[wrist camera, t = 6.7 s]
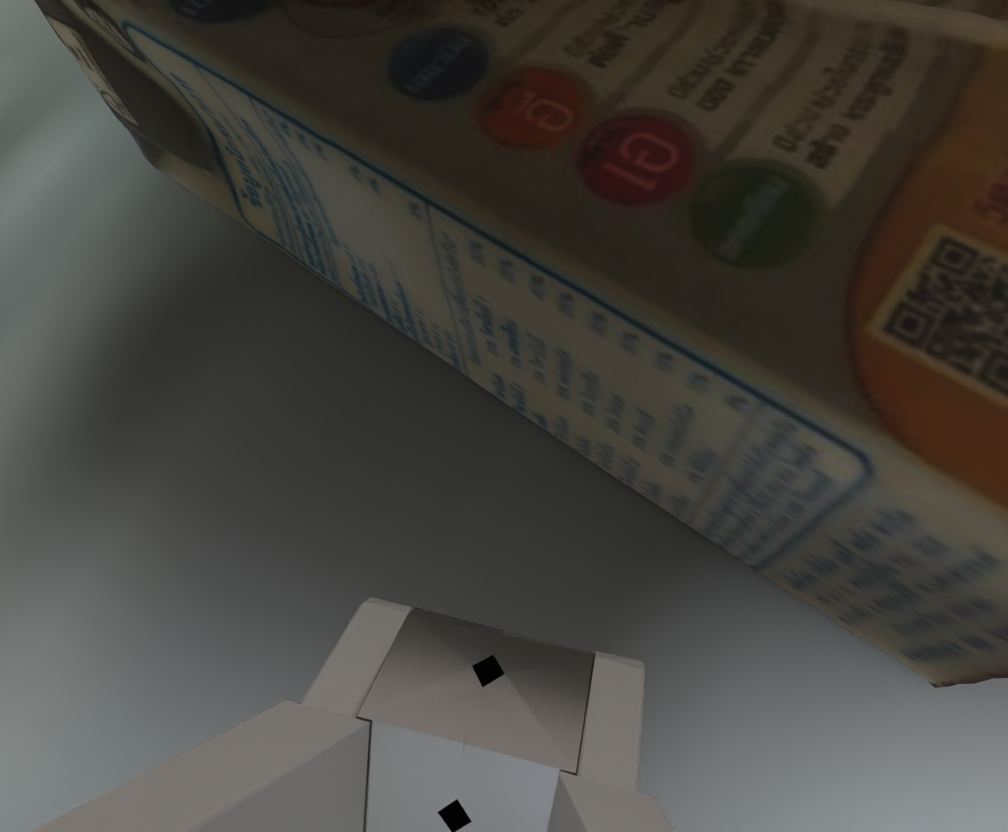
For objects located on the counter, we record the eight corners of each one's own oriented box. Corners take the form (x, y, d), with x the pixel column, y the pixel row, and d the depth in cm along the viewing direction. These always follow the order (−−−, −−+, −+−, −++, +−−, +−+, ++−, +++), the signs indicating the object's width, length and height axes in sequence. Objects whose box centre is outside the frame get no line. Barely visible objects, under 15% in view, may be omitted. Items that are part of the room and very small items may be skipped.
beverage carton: (371, -37, 19) (285, -385, 13) (1138, 353, 14) (1577, 83, 8) (147, 175, 17) (-78, -120, 11) (947, 718, 12) (1341, 724, 6)
